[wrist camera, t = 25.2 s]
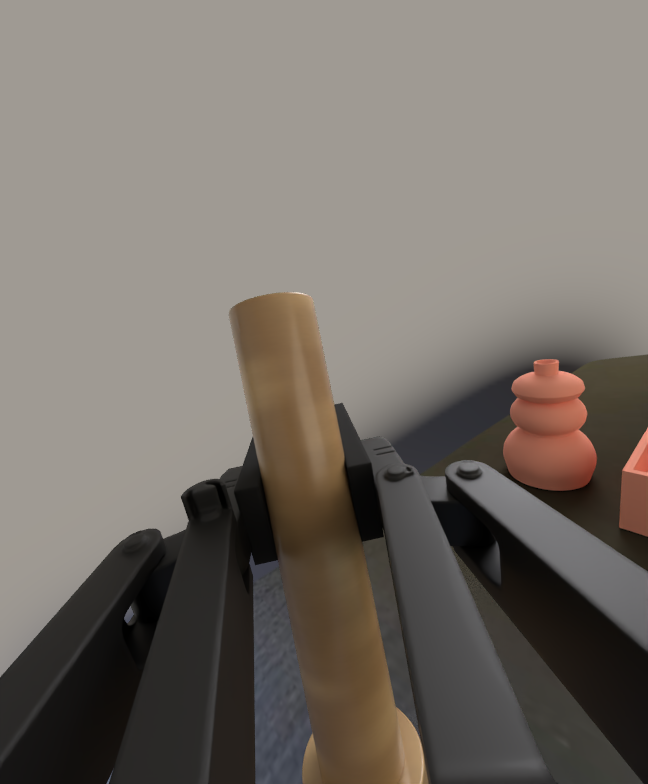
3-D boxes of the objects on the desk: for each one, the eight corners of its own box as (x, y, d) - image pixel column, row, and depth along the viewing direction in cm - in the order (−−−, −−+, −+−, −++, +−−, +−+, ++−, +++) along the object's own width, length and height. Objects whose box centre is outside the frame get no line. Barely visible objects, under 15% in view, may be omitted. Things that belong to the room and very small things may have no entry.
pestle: (302, 911, 9) (182, 307, 9) (323, 749, 13) (239, 331, 13) (451, 917, 8) (320, 271, 8) (425, 745, 12) (336, 307, 12)
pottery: (862, 507, 19) (908, 344, 17) (896, 616, 14) (970, 403, 12) (528, 441, 34) (526, 348, 31) (483, 483, 28) (475, 375, 26)
